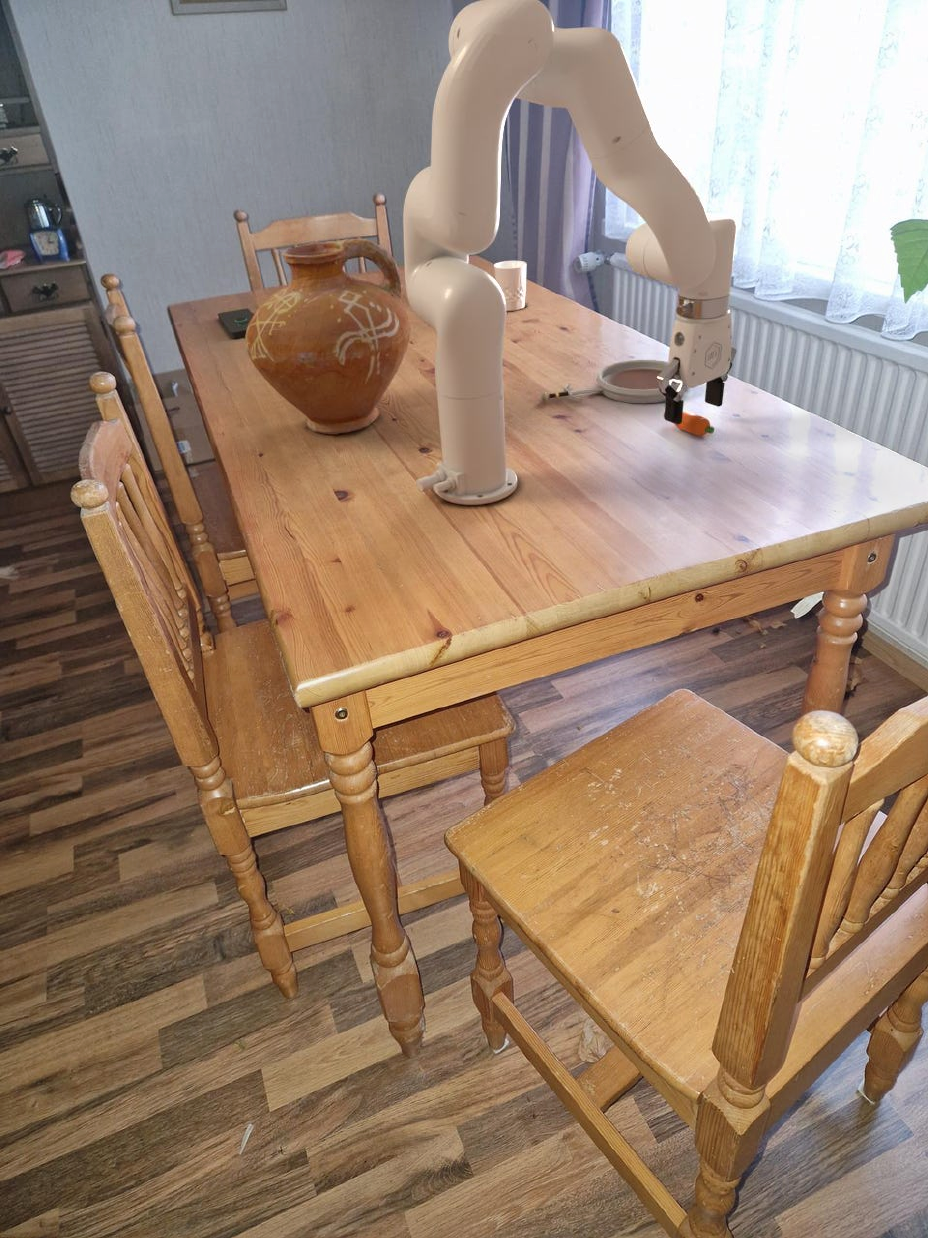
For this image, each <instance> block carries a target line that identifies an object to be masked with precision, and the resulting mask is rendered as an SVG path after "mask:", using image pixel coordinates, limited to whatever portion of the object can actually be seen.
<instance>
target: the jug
mask: <svg viewBox="0 0 928 1238" xmlns="http://www.w3.org/2000/svg"><path fill="white" fill-rule="evenodd" d="M281 256H282V257H283V259H284V260H283V261H284V262H285V263H286V264H287V265H288V267H289V269H290V275H291V278H290V283H288V285H286V286H285V287H282V288H281V289H279V290H277V291H275V292H274V293H272V295H270V296H269V297H267V298H266V300H265V301H264V302H262V303H261V304H260V305H259V306H258V308H257V309H256V311H255V313H253V315H254V316H253V317H252V319H251V320H250V322H249V324H248V327H247V330H246V337H244V341H245V348H246V352H247V355H248V357H249V359H250V361H251V362H252V364H253V366H254V368H255V369H256V370H257V371H258V373H259V374H260V376H262V378H263V379H264V380H265V381H266V382H267V383H268V384H269V385H270V387H272V388H273V389H274V390H275V391H276V393H278V394H279V396H281V397H282V398H284V400H286V401H287V402H288V403H289V404H291V405H292V406H293V407H294V408H295V409H297V410H298V411H300V412H301V413H302V414H303V415H304V416H305V417H307V418H306V425H307V427H308V428H309V430H311V431H312V432H315V433H319V434H324V435H339V434H347V433H352V432H356V431H357V432H358V431H361V430H364V429H366V428H368V427H369V426H370V425H372V423H373V422H374V421H376V420H377V419H378V417H379V415H380V412H379V410H378V409H377V405H378V404H379V402H380V401H381V399H382V397H383V396H384V394H385V393H386V391H387V390H388V388H389V386H390V384H391V383H392V381H393V379H395V376H396V375H397V373H398V371H399V369H400V367H401V364H402V362H403V360H404V357H405V355H406V353H407V350H408V348H409V347H408V346H409V342H410V337H411V324H410V319H409V316H408V313H407V310H406V305H405V300H404V295H403V289H402V277H401V272H400V269H399V267H398V265H397V262H396V259H395V258H394V257H393V255H392V254H391V253H390V252H389V251H388V250H387V249H386V248H385V247H383V246H382V245H380V244H378V243H376V242H373V241H372V240H369V239H365V238H345V239H343V240H342V239H341V240H331V241H324V242H311V243H306V244H303V245H299V246H295V247H291V248H287V249H284V250H283V251H282V252H281ZM358 258H364V259H366V260H369V261H371V262H373V263H374V265H376V267H377V268H378V269H379V270H380V271H381V273H382V274H383V280H382V282H381V283H380V284H376V283H374V282H373V281H370V280H367V279H363V278H360V277H356V276H351V275H350V274H348V273H347V272H346V271H345V270H344V266H345V264H346V263H347V261H348V260H354V259H358Z"/></svg>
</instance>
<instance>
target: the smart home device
mask: <svg viewBox="0 0 928 1238" xmlns="http://www.w3.org/2000/svg"><path fill="white" fill-rule="evenodd" d="M217 316H218V321H219V323H220V324H221V325H222V326H223V328H224V329H225V331H226V333H227V334H229V336H230V337H231V339H233V340H236V339H242V338H245V337H246V330H247V327H248V324H249V322H250V320H251V319H252V317H253V316H254V313H253V312H252V311H251V310H250V309H249V308H247V307H246V308H241V309H234V310H229V311H223V312H219V313H217Z"/></svg>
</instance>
